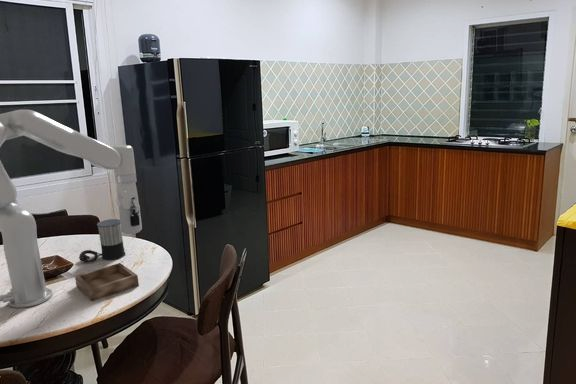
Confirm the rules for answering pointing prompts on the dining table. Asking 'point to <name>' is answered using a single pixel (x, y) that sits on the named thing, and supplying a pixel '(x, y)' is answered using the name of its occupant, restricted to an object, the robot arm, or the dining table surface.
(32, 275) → the robot arm
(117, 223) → the milk frother
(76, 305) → the dining table surface
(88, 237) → the dining table surface
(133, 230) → the can
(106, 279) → the tray
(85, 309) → the dining table surface
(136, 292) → the dining table surface
